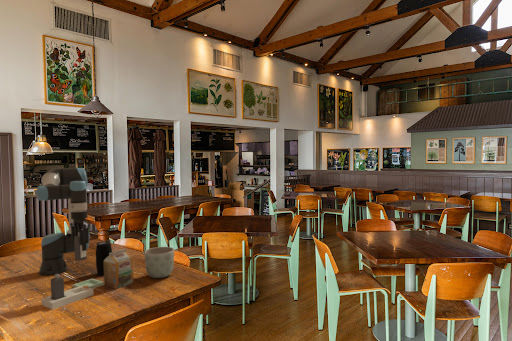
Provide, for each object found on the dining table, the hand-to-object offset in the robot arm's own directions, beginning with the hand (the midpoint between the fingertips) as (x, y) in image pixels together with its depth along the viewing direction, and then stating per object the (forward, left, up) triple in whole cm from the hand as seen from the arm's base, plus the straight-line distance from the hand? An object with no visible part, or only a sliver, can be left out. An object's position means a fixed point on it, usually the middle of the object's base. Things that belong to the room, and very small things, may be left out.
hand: (80, 256), depth 177 cm
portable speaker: (-19, +25, -20) cm, 37 cm away
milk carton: (+5, +18, -20) cm, 27 cm away
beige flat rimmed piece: (+2, -8, -20) cm, 21 cm away
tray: (-7, +8, -20) cm, 22 cm away
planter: (+13, +40, -20) cm, 46 cm away
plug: (0, 0, -2) cm, 2 cm away
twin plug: (+2, -13, -19) cm, 23 cm away
